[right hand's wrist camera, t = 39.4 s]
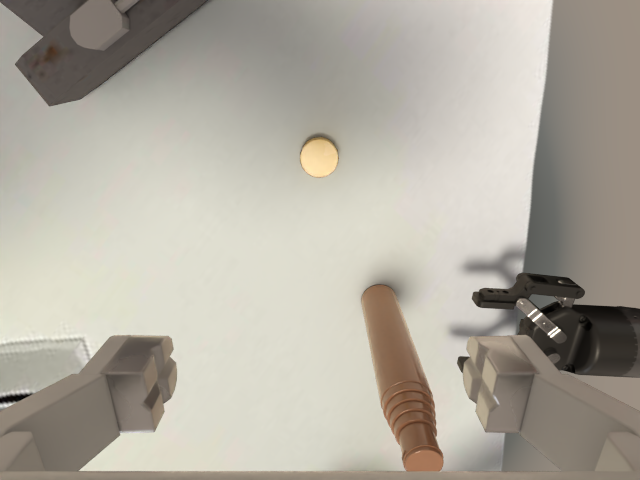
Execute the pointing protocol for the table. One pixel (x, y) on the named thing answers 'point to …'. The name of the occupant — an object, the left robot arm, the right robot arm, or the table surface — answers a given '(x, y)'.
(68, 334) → the table surface
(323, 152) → the cap
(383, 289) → the bottle
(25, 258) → the table surface
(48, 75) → the toy
